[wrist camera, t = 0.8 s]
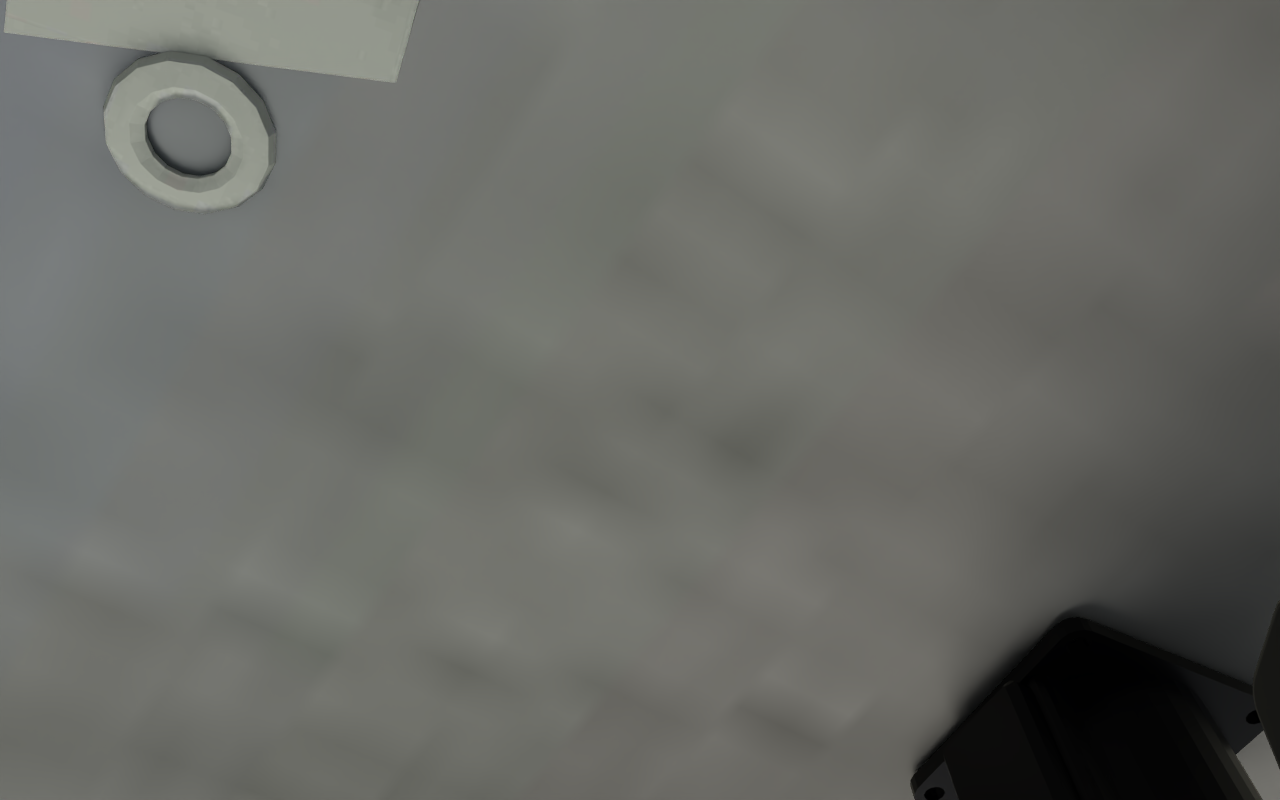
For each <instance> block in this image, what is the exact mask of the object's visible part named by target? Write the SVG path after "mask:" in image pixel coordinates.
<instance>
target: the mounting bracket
mask: <svg viewBox="0 0 1280 800" xmlns="http://www.w3.org/2000/svg"><path fill="white" fill-rule="evenodd" d="M418 3H419V0H7V6H6V16H5V27H4V32H5V33H13V34H21V35H28V36H36V37H44V38H52V39H59V40H67V41H75V42H83V43H90V44H98V45H106V46H114V47H121V48H129V49H137V50H145V51H152V52H160V53H159V54H155V55H151V56H147V57H143V58H139V59H137V60H136V61H135V62H134V63H133V64H131V65H130V66H129V67H128V68H127V69H126V70H124V71H123V72H122V73H121V74H120V75H118V76H117V77H116V78H115V79H114V82H113V84H112V86H111V89H110V91H109V94H108V96H107V99H106V101H105V104H104V106H103V109H104V123H105V136H106V144H107V146H108V148H109V150H110V152H111V154H112V156H113V158H114V160H115V162H116V164H117V166H118V168H119V170H120V172H121V173H122V174H123V175H124V176H125V177H126V178H127V179H128V180H129V181H130V182H131V183H132V184H134V185H135V186H136V187H137V188H138V189H139V190H140V191H141V192H142V193H143V194H144V195H145V196H147V197H149V198H151V199H153V200H155V201H157V202H159V203H161V204H164V205H166V206H168V207H170V208H172V209H174V210H180V211H187V212H194V213H202V214H208V213H212V212H217V211H221V210H225V209H230V208H234V207H238V206H240V205H241V204H243V203H244V202H245V201H247V200H248V199H249V198H251V197H252V196H253V195H255V194H256V193H257V192H259V191H260V190H261V189H263V187H264V185H265V183H266V181H267V179H268V177H269V175H270V173H271V171H272V169H273V167H274V165H275V160H276V131H275V129H274V126H273V124H272V121H271V119H270V116H269V114H268V111H267V109H266V106H265V104H264V101H263V100H262V99H261V98H260V97H259V96H258V94H257V93H256V92H255V91H254V90H253V89H252V88H251V87H250V86H249V85H248V83H247V82H246V81H245V80H244V79H243V78H242V77H241V76H240V75H239V74H238V73H236V72H234V71H232V70H231V69H229V68H227V67H225V66H223V65H222V64H220V63H218V62H216V61H214V60H222V61H230V62H238V63H245V64H253V65H261V66H269V67H276V68H284V69H292V70H300V71H307V72H315V73H323V74H331V75H339V76H346V77H354V78H362V79H370V80H377V81H385V82H393V83H396V80H397V77H398V73H399V70H400V66H401V63H402V59H403V56H404V52H405V49H406V45H407V42H408V38H409V34H410V31H411V27H412V24H413V20H414V17H415V13H416V10H417V6H418ZM212 59H214V60H212ZM175 98H183V99H190V100H196V101H198V102H200V103H202V104H203V105H205V106H207V107H209V108H211V109H212V110H213V111H214V112H215V113H216V114H217V115H218V116H219V117H220V118H221V119H222V120H223V121H224V122H225V125H226V127H227V129H228V131H229V134H230V136H231V155H230V157H229V159H228V161H227V164H226V165H225V166H224V167H222V168H221V169H220V170H219V171H217V172H215V173H211V174H207V175H203V176H197V175H190V174H183V173H181V172H180V171H178V170H176V169H174V168H172V167H170V166H168V165H167V164H166V163H165V162H164V161H163V160H162V159H161V158H160V157H159V156H158V155H157V154H156V153H155V152H154V150H153V148H152V146H151V143H150V141H149V139H148V137H147V119H148V117H149V114H150V112H151V110H152V109H154V108H155V107H156V106H157V105H159V104H160V103H161V102H163V101H167V100H171V99H175Z"/></svg>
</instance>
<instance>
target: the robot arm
mask: <svg viewBox="0 0 1280 800" xmlns="http://www.w3.org/2000/svg"><path fill="white" fill-rule="evenodd" d="M1077 638H1078V639H1077ZM1074 639H1077V640H1075V641H1072V640H1074ZM1263 730H1264V732H1265V734H1266V737H1267V739H1268V742H1269V744H1270V747H1271V749H1272V751H1273V754H1274V756H1275V759H1276V761H1277V764H1278V766H1279V769H1280V600H1279V601H1278V603H1277V606H1276V608H1275V611H1274V614H1273V617H1272V620H1271V623H1270V626H1269V629H1268V633H1267V636H1266V639H1265V642H1264V645H1263V648H1262V651H1261V654H1260V657H1259V660H1258V664H1257V667H1256V670H1255V673H1254V678H1253V686H1251V685H1248V684H1246V683H1243V682H1241V681H1238V680H1236V679H1233V678H1231V677H1228V676H1226V675H1223V674H1221V673H1219V672H1216V671H1214V670H1211V669H1209V668H1206V667H1204V666H1201V665H1199V664H1196V663H1194V662H1191V661H1189V660H1187V659H1184V658H1182V657H1179V656H1177V655H1174V654H1172V653H1169V652H1167V651H1164V650H1162V649H1159V648H1157V647H1154V646H1152V645H1150V644H1147V643H1145V642H1142V641H1140V640H1137V639H1135V638H1132V637H1130V636H1127V635H1125V634H1122V633H1120V632H1118V631H1115V630H1113V629H1110V628H1108V627H1105V626H1103V625H1100V624H1098V623H1095V622H1093V621H1090V620H1088V619H1085V618H1080V617H1075V618H1069V619H1066V620H1064V621H1061V622H1060V623H1059V624H1057V625H1056V626H1055V627H1054V628H1053V629H1052V630H1051V631H1050V632H1049V633H1048V634H1047V635H1046V636H1045V637H1044V638H1043V639H1042V640H1041V641H1040V642H1039V643H1038V645H1037V646H1036V647H1035V648H1034V649H1033V650H1032V651H1031V652H1030V653H1029V654H1028V655H1027V656H1026V657H1025V658H1024V659H1023V660H1022V661H1021V662H1020V664H1019V665H1018V666H1017V667H1016V668H1015V669H1014V670H1013V671H1012V672H1011V673H1010V674H1009V675H1008V676H1007V677H1006V678H1005V679H1004V680H1003V681H1002V683H1001V684H1000V685H999V686H998V687H997V688H996V689H995V690H994V691H993V692H992V693H991V694H990V695H989V696H988V697H987V698H986V699H985V700H984V702H983V703H982V704H981V705H980V706H979V707H978V708H977V709H976V710H975V711H974V712H973V713H972V714H971V715H970V716H969V717H968V718H967V719H966V721H965V722H964V723H963V724H962V725H961V726H960V727H959V728H958V729H957V730H956V731H955V732H954V733H953V734H952V735H951V736H950V737H949V738H948V740H947V741H946V742H945V743H944V744H943V745H942V746H941V747H940V748H939V749H938V750H937V751H936V752H935V753H934V754H933V755H932V756H931V757H930V759H929V760H928V761H927V762H926V763H925V764H924V765H923V766H922V767H921V768H920V769H919V770H918V771H917V772H916V773H915V774H914V776H913V777H912V779H911V782H910V786H911V789H912V792H913V796H914V799H915V800H1263V799H1262V798H1261V796H1260V794H1259V793H1258V791H1257V789H1256V788H1255V786H1254V784H1253V783H1252V781H1251V779H1250V778H1249V776H1248V775H1247V773H1246V771H1245V770H1244V768H1243V766H1242V765H1241V763H1240V761H1239V760H1238V758H1237V756H1236V754H1237V753H1238V752H1239V751H1240V750H1241V749H1242V748H1244V747H1245V746H1246V745H1247V744H1248V743H1249V742H1250V741H1252V740H1253V739H1254V738H1255V737H1256V736H1257V735H1258V734H1260V733H1261V732H1262V731H1263Z"/></svg>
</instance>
